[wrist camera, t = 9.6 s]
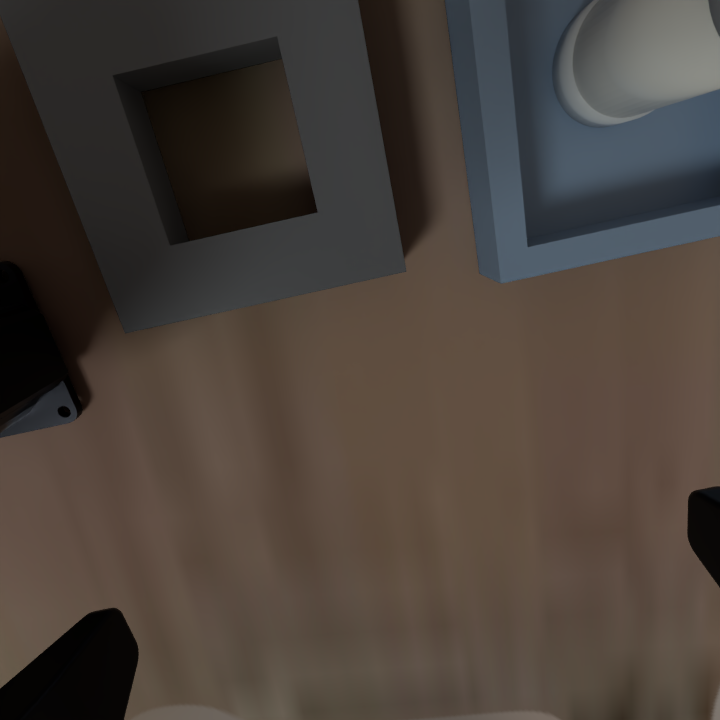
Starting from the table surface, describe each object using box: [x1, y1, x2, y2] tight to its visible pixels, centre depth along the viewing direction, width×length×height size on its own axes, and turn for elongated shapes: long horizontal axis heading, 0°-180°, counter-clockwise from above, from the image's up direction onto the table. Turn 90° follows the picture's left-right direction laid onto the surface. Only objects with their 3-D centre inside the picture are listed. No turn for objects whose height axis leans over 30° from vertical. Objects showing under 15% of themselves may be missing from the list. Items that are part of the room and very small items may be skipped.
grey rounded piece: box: [552, 0, 720, 128], centre depth 11 cm, size 4×4×8 cm
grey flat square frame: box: [0, 0, 406, 333], centre depth 15 cm, size 10×10×2 cm
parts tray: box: [445, 0, 720, 283], centre depth 14 cm, size 10×12×2 cm
